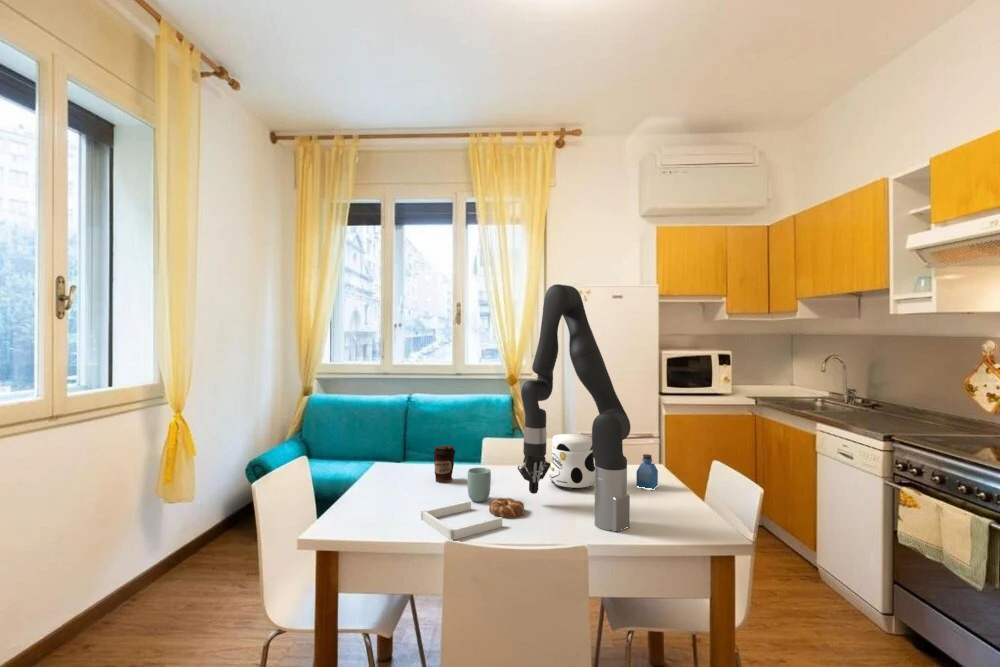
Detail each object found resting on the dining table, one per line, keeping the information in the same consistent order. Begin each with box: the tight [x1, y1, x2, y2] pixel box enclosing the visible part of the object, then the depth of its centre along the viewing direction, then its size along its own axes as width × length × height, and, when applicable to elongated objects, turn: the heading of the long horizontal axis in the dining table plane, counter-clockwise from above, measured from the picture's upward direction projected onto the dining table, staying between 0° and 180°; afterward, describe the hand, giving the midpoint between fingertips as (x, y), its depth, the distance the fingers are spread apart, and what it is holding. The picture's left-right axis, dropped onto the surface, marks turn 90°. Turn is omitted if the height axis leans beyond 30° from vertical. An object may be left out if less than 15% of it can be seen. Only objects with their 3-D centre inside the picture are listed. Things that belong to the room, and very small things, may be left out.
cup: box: [467, 467, 492, 503], centre depth 158 cm, size 8×8×10 cm
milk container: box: [548, 433, 595, 491], centre depth 176 cm, size 17×17×18 cm
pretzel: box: [488, 497, 525, 519], centre depth 148 cm, size 12×11×4 cm
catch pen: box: [420, 500, 503, 541], centre depth 138 cm, size 18×17×2 cm
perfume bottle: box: [635, 453, 659, 489], centre depth 175 cm, size 6×6×12 cm
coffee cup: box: [433, 445, 456, 483], centre depth 180 cm, size 9×8×13 cm
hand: (533, 492), depth 155 cm, fingers closed
